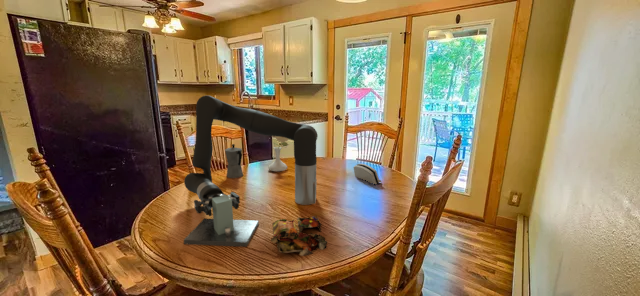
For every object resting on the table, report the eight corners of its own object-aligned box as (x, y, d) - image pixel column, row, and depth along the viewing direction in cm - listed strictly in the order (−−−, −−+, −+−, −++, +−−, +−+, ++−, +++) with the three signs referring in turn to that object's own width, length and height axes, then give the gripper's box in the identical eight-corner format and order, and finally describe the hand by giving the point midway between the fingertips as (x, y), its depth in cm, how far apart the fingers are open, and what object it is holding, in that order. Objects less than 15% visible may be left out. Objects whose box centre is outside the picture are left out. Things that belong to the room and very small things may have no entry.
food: (333, 254, 81) (333, 243, 80) (270, 262, 77) (270, 251, 76) (318, 220, 102) (318, 211, 101) (268, 225, 98) (268, 216, 97)
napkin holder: (382, 183, 141) (378, 167, 137) (375, 187, 139) (372, 171, 135) (361, 174, 155) (357, 159, 151) (355, 178, 153) (351, 163, 149)
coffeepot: (221, 174, 150) (219, 143, 146) (237, 171, 157) (235, 141, 153) (234, 181, 140) (232, 148, 136) (250, 177, 146) (248, 145, 142)
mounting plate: (258, 224, 96) (258, 214, 96) (246, 246, 83) (246, 235, 82) (204, 222, 97) (203, 212, 96) (184, 244, 84) (182, 232, 83)
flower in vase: (265, 172, 156) (264, 130, 150) (272, 166, 167) (271, 127, 161) (287, 173, 154) (286, 131, 148) (292, 168, 164) (292, 128, 159)
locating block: (228, 224, 93) (226, 195, 91) (233, 230, 89) (231, 199, 87) (214, 228, 90) (211, 198, 88) (218, 234, 86) (216, 203, 84)
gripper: (188, 188, 94) (200, 204, 81) (228, 180, 102) (244, 194, 90) (190, 208, 96) (202, 226, 83) (229, 198, 104) (245, 214, 92)
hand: (224, 209), depth 86 cm, fingers open, 8 cm apart
